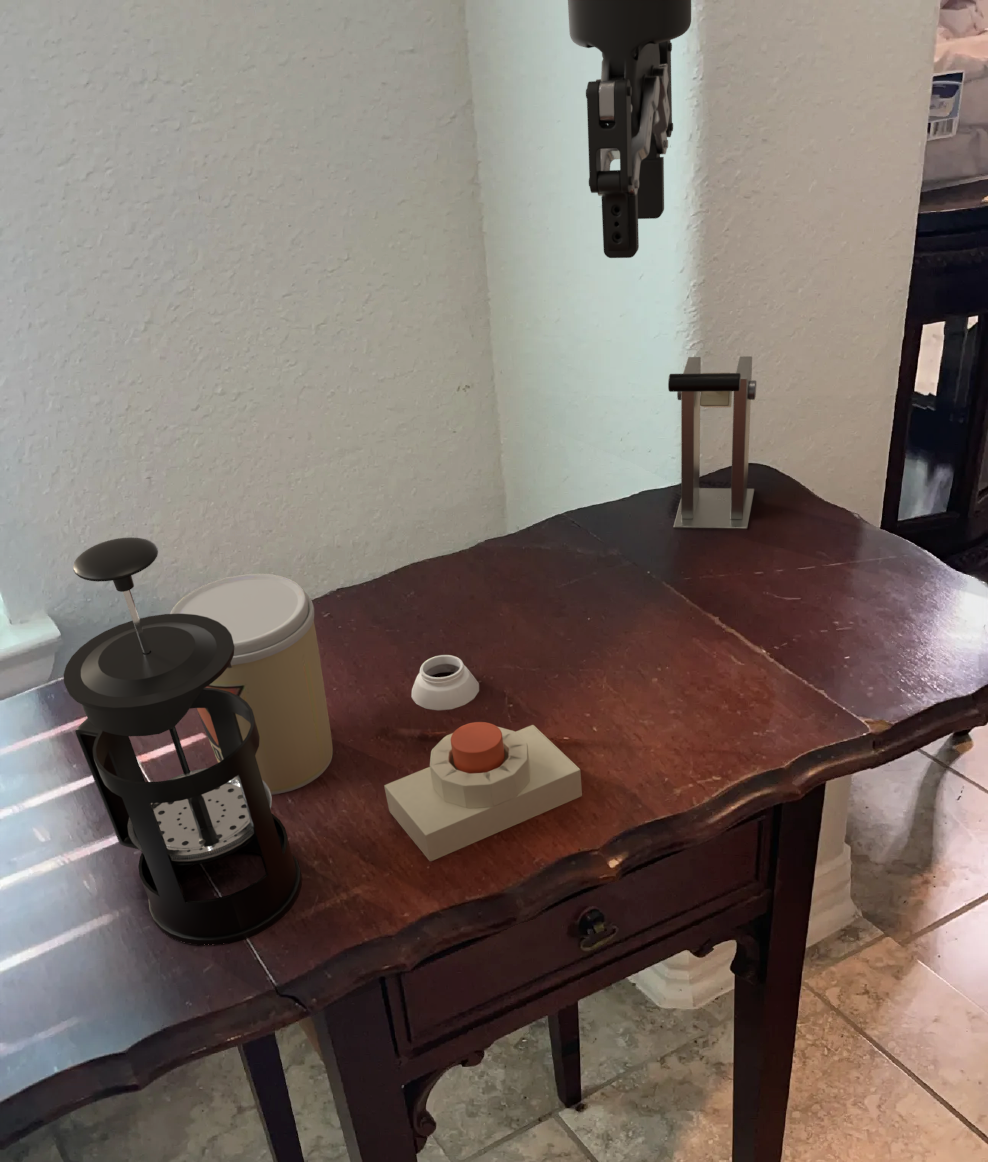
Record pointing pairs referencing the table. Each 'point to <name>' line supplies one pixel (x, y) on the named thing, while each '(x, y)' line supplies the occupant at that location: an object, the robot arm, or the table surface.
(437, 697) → the white jar
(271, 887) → the french press
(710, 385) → the lever
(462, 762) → the button
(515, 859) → the table surface
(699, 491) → the switch bracket
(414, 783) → the button base
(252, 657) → the beige canister with lid
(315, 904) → the table surface
